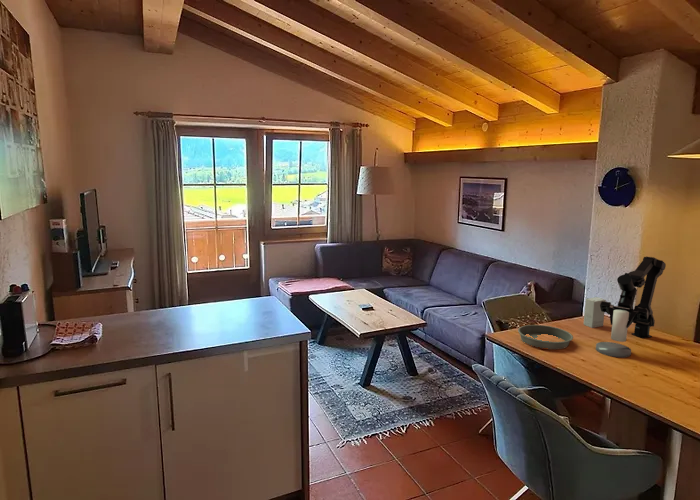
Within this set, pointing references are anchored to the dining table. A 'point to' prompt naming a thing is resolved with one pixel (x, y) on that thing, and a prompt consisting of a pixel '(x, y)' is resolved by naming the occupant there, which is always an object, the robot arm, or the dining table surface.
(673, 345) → the dining table surface
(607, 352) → the slate plinth
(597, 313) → the skincare box
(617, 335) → the white post
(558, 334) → the cake pan
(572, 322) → the dining table surface
